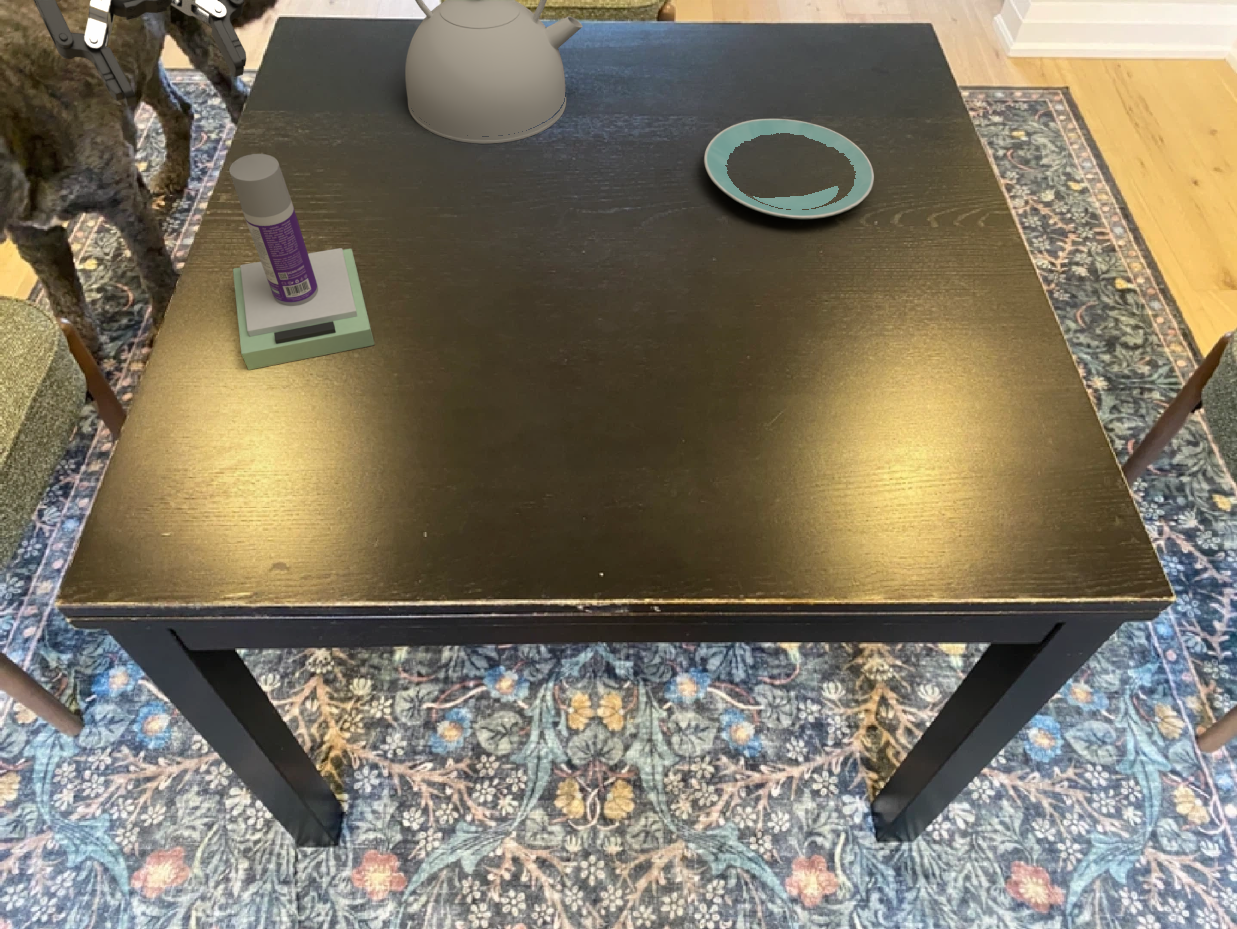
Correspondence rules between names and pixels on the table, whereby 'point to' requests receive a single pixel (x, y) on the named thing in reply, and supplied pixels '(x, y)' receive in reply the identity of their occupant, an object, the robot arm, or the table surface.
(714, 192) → the table surface
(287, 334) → the scale
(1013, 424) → the table surface
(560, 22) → the kettle
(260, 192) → the container
